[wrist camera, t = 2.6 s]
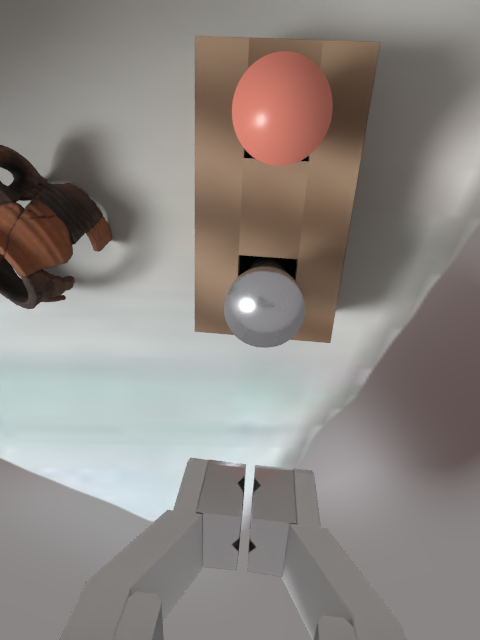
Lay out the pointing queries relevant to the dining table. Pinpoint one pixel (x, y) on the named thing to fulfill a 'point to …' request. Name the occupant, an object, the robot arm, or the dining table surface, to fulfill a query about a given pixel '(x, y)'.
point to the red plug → (282, 108)
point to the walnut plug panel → (276, 180)
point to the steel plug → (264, 304)
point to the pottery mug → (41, 232)
